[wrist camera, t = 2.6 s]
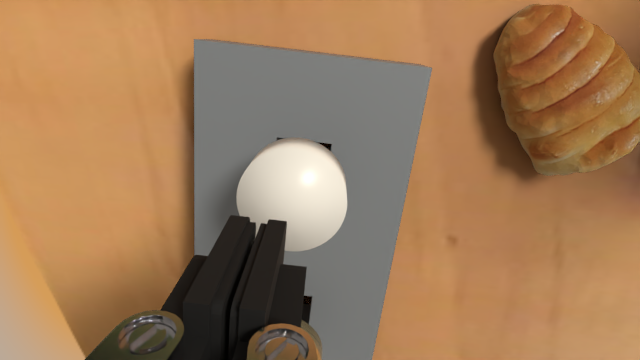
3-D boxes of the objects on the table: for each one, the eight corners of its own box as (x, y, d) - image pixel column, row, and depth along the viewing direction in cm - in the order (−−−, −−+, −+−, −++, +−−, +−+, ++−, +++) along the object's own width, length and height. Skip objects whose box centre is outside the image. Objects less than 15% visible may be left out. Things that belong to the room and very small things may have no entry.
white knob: (350, 129, 20) (354, 156, 16) (339, 211, 22) (339, 257, 17) (261, 118, 20) (238, 142, 16) (256, 201, 22) (234, 244, 17)
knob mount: (419, 64, 22) (432, 67, 19) (344, 448, 33) (345, 486, 30) (212, 39, 22) (193, 39, 19) (207, 431, 33) (195, 468, 30)
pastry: (454, 55, 22) (478, 57, 18) (564, -28, 20) (614, -44, 17) (534, 177, 24) (569, 200, 21) (639, 111, 23) (697, 124, 19)
